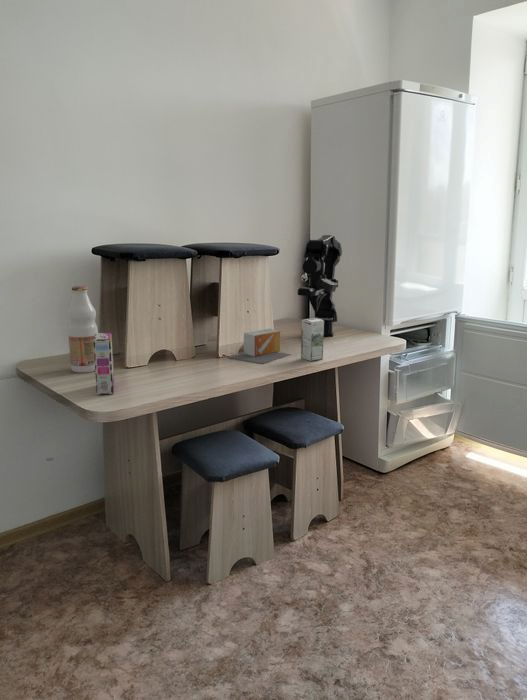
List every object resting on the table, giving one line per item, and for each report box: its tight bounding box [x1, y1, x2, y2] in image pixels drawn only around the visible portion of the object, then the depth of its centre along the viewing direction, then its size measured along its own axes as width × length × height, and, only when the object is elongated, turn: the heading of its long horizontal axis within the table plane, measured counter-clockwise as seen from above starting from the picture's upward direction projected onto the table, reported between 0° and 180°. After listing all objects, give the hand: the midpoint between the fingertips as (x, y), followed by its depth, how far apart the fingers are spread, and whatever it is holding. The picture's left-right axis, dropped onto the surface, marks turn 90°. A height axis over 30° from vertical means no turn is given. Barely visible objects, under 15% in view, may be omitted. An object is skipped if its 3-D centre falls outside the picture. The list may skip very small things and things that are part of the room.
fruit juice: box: [66, 285, 99, 374], centre depth 189 cm, size 9×9×28 cm
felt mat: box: [227, 351, 291, 365], centre depth 209 cm, size 17×16×1 cm
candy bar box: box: [93, 332, 115, 396], centre depth 168 cm, size 11×5×16 cm, turn 13°
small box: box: [243, 328, 281, 357], centre depth 213 cm, size 8×6×13 cm
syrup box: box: [300, 317, 325, 362], centre depth 203 cm, size 6×6×14 cm
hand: (315, 311), depth 228 cm, fingers closed
